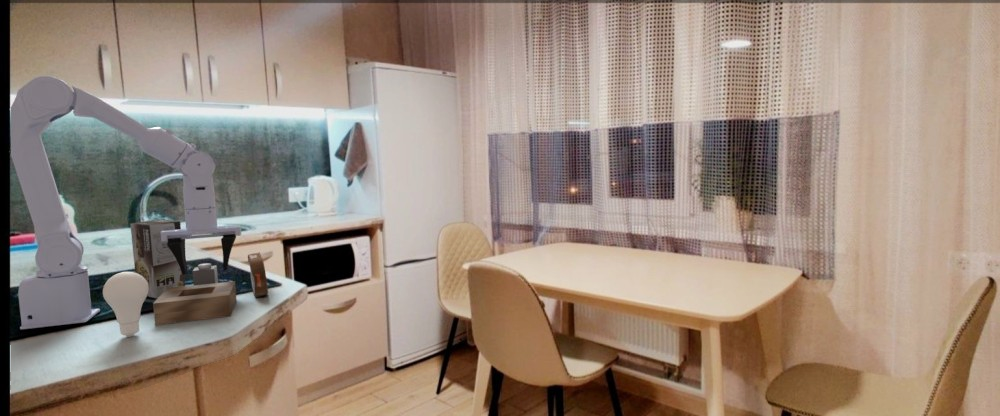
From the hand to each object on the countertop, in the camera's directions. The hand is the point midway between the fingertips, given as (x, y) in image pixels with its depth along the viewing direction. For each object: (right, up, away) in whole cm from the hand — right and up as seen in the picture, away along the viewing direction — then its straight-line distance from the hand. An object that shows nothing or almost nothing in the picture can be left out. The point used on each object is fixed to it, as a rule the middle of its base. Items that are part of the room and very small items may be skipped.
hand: (205, 271), depth 108 cm
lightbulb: (+1, -8, -23) cm, 24 cm away
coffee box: (-13, -6, +5) cm, 15 cm away
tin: (+9, -5, +4) cm, 12 cm away
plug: (0, -6, +1) cm, 6 cm away
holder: (+4, -7, -10) cm, 12 cm away
